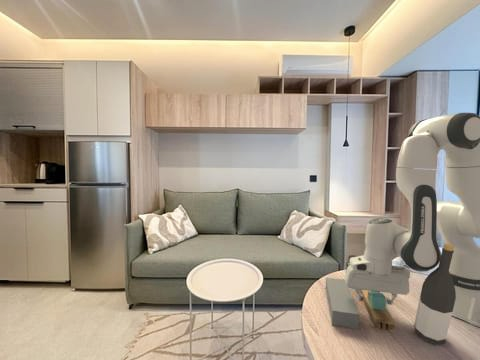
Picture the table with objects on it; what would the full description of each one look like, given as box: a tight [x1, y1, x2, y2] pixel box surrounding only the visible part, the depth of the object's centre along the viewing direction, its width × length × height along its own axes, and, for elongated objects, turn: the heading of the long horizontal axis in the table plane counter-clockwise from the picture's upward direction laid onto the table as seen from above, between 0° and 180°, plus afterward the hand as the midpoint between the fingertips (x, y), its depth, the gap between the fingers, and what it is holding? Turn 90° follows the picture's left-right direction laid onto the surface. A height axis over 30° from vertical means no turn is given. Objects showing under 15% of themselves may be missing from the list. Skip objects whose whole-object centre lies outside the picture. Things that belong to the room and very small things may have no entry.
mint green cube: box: [370, 292, 387, 310], centre depth 88 cm, size 4×4×4 cm
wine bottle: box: [413, 243, 456, 345], centre depth 75 cm, size 8×8×30 cm
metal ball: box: [368, 290, 381, 300], centre depth 93 cm, size 4×4×4 cm
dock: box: [325, 277, 360, 330], centre depth 93 cm, size 8×24×5 cm, turn 166°
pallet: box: [360, 289, 395, 332], centre depth 90 cm, size 6×20×4 cm, turn 166°
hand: (374, 301), depth 90 cm, fingers open, 8 cm apart
